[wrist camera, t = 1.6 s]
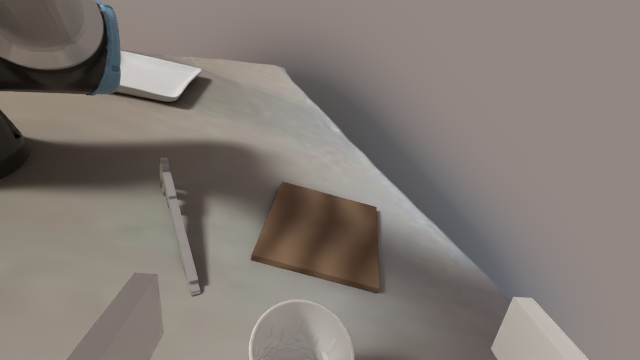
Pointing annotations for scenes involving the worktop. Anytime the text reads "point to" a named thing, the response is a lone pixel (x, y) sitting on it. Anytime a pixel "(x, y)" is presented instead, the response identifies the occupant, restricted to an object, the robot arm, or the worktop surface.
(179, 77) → the salad plate
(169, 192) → the caliper
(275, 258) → the walnut board
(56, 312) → the worktop surface
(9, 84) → the robot arm
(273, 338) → the white cup
